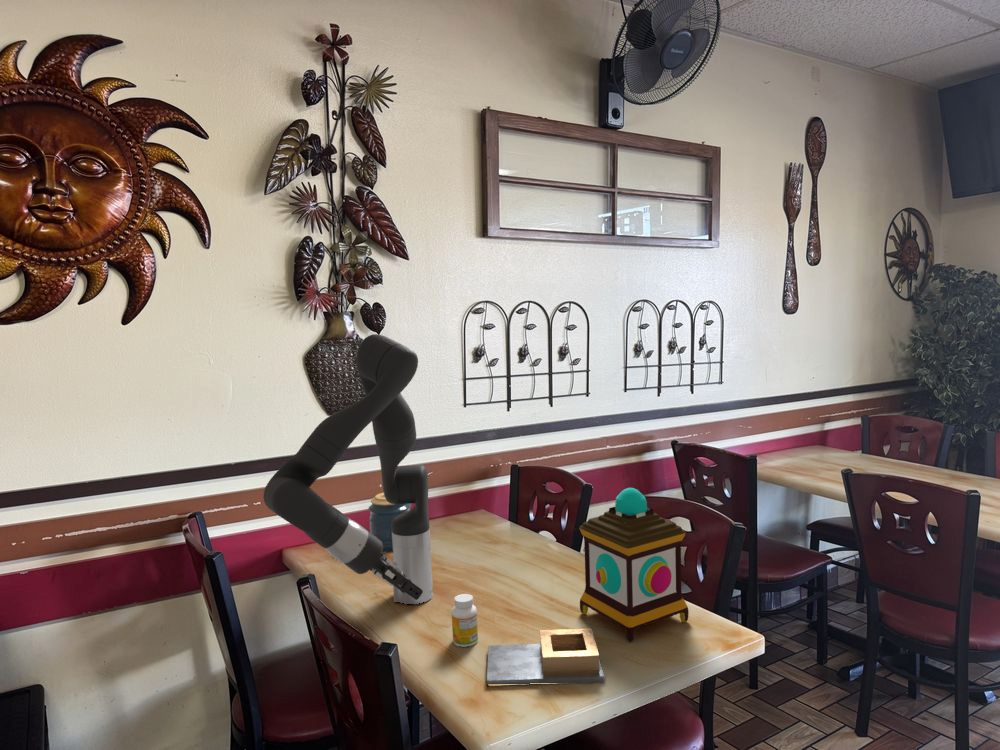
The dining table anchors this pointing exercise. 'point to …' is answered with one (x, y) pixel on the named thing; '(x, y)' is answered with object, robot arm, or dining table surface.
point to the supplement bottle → (464, 621)
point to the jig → (547, 659)
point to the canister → (384, 518)
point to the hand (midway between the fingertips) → (411, 588)
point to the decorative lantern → (633, 565)
